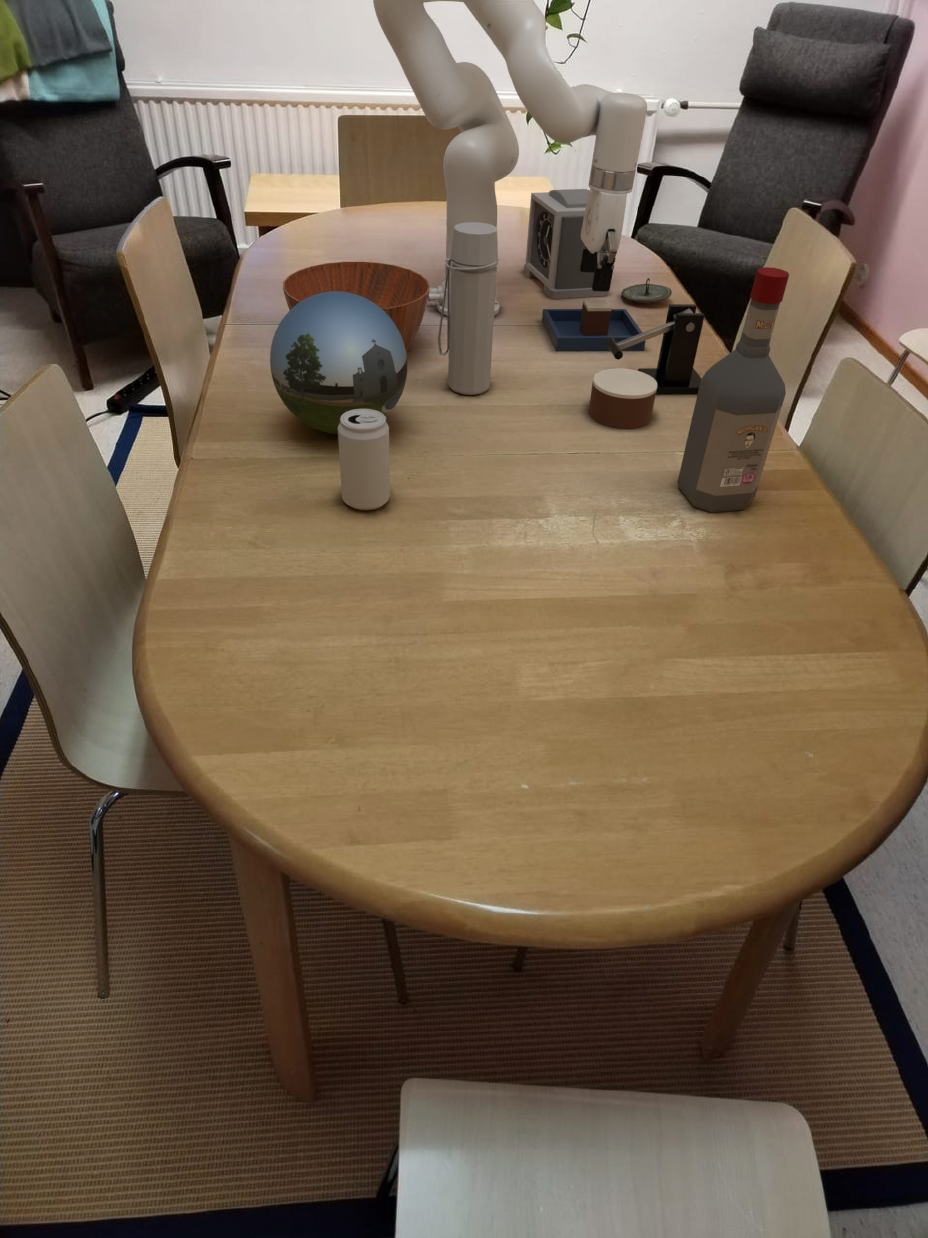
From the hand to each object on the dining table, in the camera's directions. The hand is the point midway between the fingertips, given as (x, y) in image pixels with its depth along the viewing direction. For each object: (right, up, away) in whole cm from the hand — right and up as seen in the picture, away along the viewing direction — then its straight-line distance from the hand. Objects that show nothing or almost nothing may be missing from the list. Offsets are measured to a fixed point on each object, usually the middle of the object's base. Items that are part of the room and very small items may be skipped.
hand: (594, 280), depth 155 cm
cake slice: (+1, -8, +6) cm, 10 cm away
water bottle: (-24, -23, -14) cm, 36 cm away
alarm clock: (-2, +11, +29) cm, 31 cm away
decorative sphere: (-42, -33, -26) cm, 60 cm away
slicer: (+12, -22, -10) cm, 26 cm away
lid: (+14, +5, +22) cm, 27 cm away
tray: (0, -8, +6) cm, 10 cm away
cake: (+1, -29, -19) cm, 35 cm away
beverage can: (-37, -46, -42) cm, 73 cm away
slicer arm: (+7, -16, -15) cm, 23 cm away
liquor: (+11, -45, -38) cm, 60 cm away
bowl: (-43, -14, -3) cm, 45 cm away
